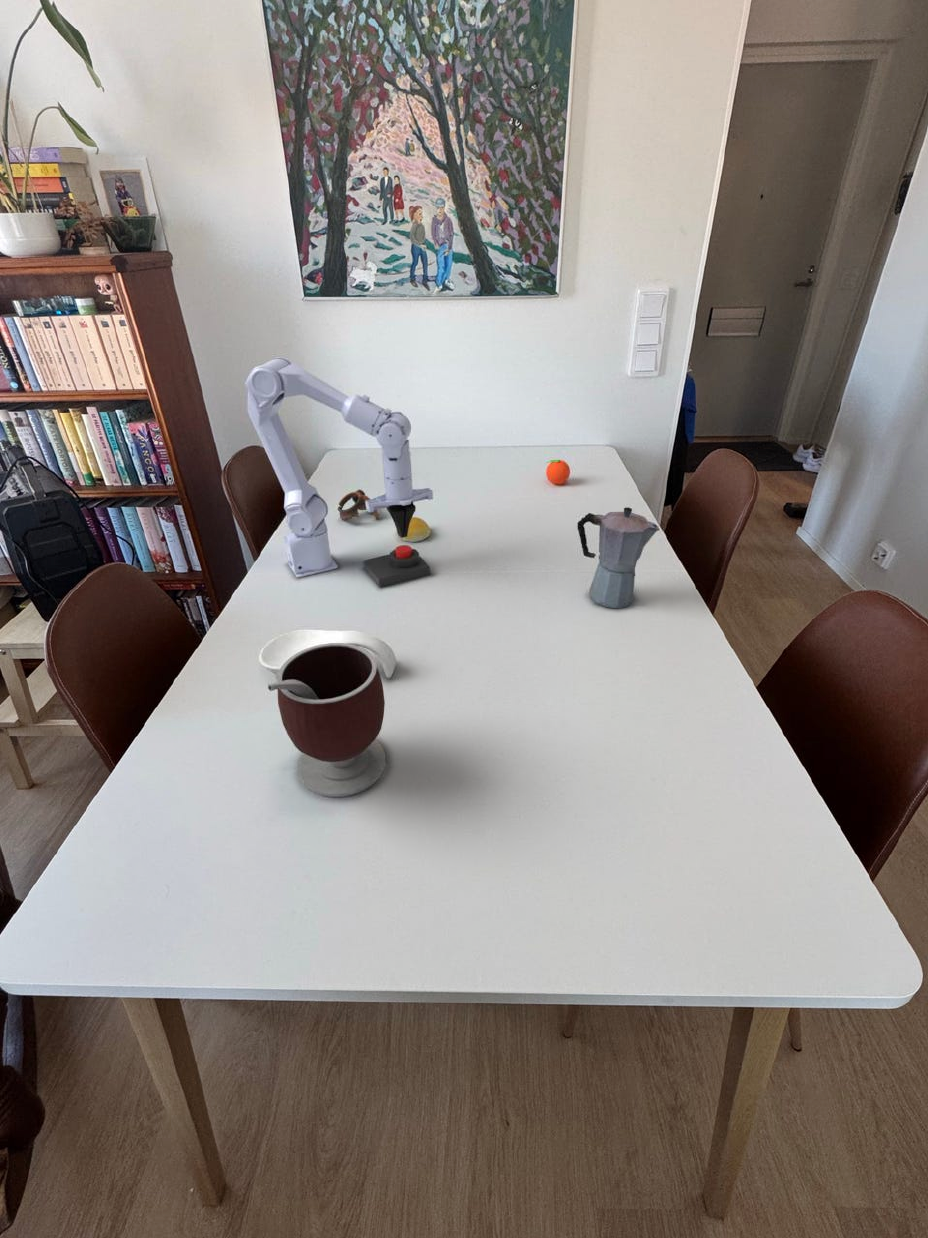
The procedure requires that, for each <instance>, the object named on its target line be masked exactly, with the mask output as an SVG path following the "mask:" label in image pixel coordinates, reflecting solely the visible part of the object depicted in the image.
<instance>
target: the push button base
mask: <svg viewBox="0 0 928 1238" xmlns="http://www.w3.org/2000/svg"><path fill="white" fill-rule="evenodd" d="M362 564H363V570H364V571H365V572H366V573H367V575H368V576H369V578H371V580H372V581H373V582H374V583H375V584H376V586H377V587H378V588H379V589H381V588H386V587H390V586H393V585H397V584H401V583H406V582H408V581H409V582H410V581H413V580H416V579H420V578H424V577H428V576H431V565H429V564H428V563H427V562H426V561H425V560H424V559H423V558H422V557H421V556H420V551H418V550H417V549H414V548H412V556H411V557H410V558H406V559H400V558H397V557H396V551H395V549H393V550H391V551H390V552H389V554H385V555H381V556H377V557H372V558H368V559H364V560H362Z"/></svg>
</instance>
